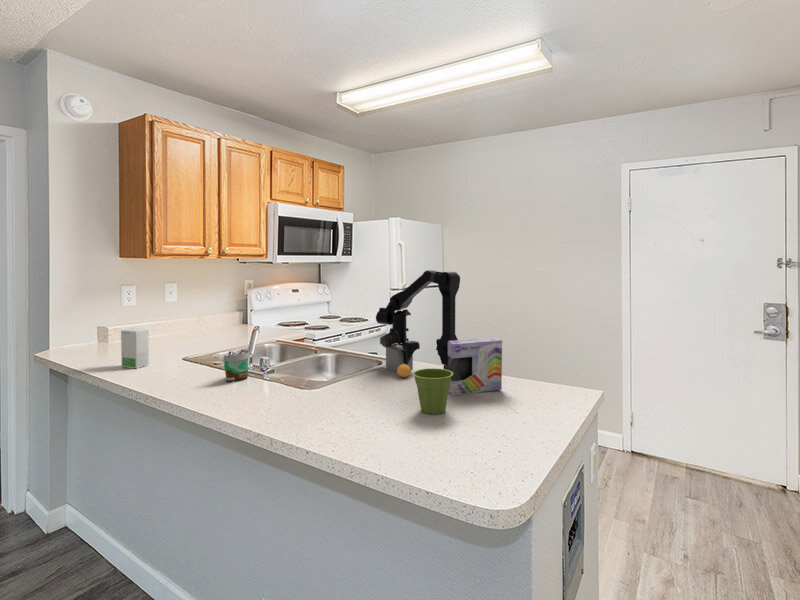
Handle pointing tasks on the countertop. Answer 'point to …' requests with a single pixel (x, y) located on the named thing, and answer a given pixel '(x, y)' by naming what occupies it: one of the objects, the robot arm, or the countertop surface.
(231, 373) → the food container
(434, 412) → the plant pot
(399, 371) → the ball
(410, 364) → the matte gray foam cube
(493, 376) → the cake pan box
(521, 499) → the countertop surface
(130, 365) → the skincare box
